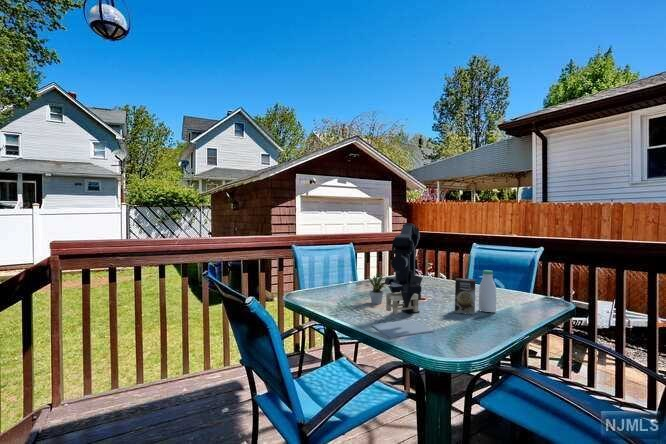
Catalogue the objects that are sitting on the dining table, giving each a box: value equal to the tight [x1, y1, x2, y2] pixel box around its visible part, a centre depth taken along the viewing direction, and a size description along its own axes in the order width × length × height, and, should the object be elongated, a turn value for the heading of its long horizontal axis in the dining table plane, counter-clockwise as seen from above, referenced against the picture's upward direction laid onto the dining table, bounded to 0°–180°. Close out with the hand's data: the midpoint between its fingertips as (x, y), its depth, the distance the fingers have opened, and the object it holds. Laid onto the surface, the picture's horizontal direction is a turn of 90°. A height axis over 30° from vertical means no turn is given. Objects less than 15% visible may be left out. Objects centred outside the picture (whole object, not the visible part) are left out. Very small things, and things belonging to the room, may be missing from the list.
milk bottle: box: [478, 269, 497, 313], centre depth 166 cm, size 8×8×20 cm
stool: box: [385, 292, 419, 315], centre depth 139 cm, size 6×11×7 cm, turn 111°
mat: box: [371, 319, 435, 339], centre depth 139 cm, size 20×15×1 cm
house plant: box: [364, 273, 389, 305], centre depth 180 cm, size 14×14×16 cm
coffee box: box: [454, 277, 476, 315], centre depth 164 cm, size 9×6×16 cm
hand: (402, 305), depth 139 cm, fingers closed on stool, 6 cm apart
